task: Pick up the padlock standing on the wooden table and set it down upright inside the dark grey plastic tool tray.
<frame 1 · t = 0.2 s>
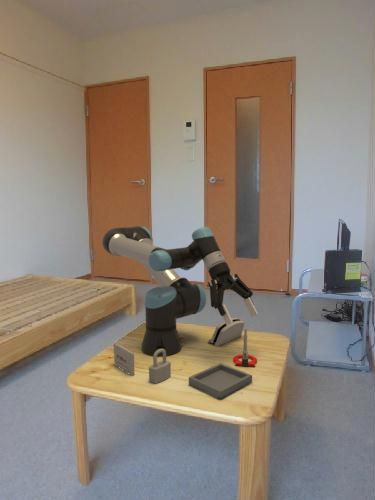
hand: (242, 319, 139), 15 cm above the table, tool tilted 35°, fingers open, 13 cm apart
padlock: (160, 379, 127), on the table
tow hook: (244, 362, 140), on the table
tool tray: (220, 383, 123), on the table
cassette: (124, 370, 134), on the table
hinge: (227, 340, 161), on the table
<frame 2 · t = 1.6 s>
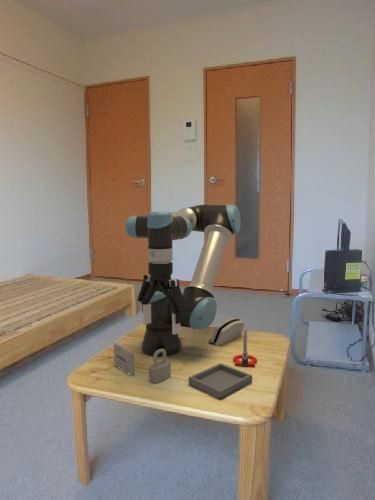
hand: (161, 328, 125), 17 cm above the table, tool pointing down, fingers open, 13 cm apart
nothing on the table moved.
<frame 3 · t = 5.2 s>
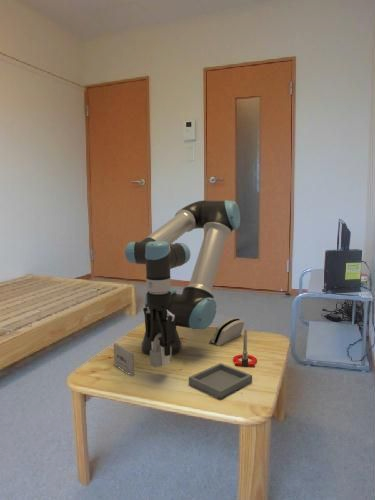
hand: (160, 362, 127), 5 cm above the table, tool pointing down, fingers closed on padlock, 4 cm apart
padlock: (161, 363, 127), point 5 cm above the table, touching gripper
everything else where it was.
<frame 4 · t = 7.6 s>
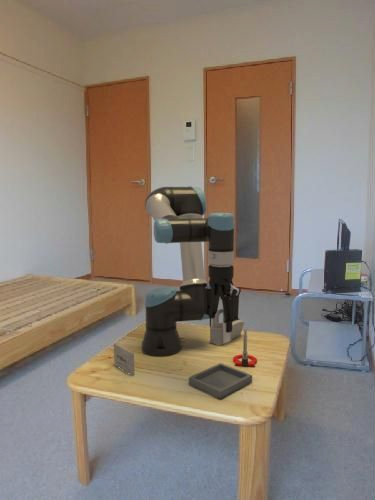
hand: (220, 339, 121), 14 cm above the table, tool pointing down, fingers closed on padlock, 4 cm apart
padlock: (220, 341, 122), point 14 cm above the table, touching gripper
everything else where it was.
when the fingers open (2 cm above the table, at t = 10.3 s): padlock stays where it is, resting on tool tray.
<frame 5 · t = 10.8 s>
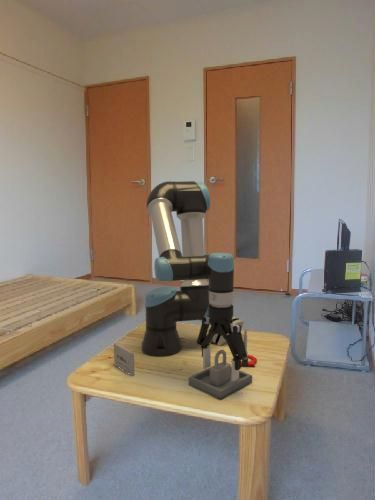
hand: (220, 373, 123), 3 cm above the table, tool pointing down, fingers open, 11 cm apart
padlock: (220, 381, 123), point 1 cm above the table, touching tool tray
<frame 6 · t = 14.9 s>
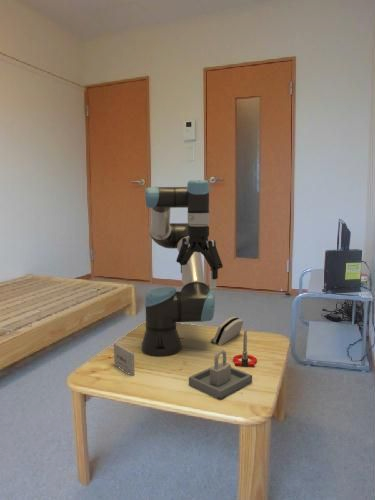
hand: (198, 285, 140), 27 cm above the table, tool pointing down, fingers open, 13 cm apart
at the end: padlock inside the target area on the tool tray (0.1 cm from its centre), point 0.6 cm above the tool tray's base; padlock tilted 0°; the gripper is holding nothing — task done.
